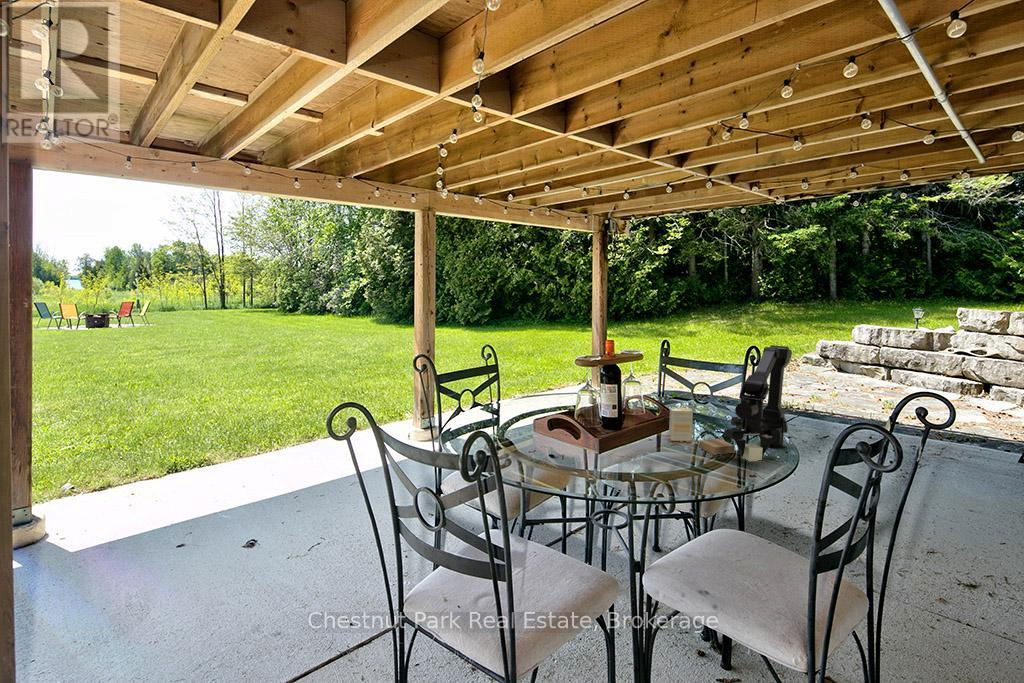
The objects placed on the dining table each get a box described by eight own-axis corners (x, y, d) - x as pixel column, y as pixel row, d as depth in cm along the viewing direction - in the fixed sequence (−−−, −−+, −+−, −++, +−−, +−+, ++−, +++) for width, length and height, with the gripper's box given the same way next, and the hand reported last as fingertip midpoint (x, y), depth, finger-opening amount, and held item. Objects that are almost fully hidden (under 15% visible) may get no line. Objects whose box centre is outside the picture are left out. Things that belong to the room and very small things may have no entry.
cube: (753, 456, 189) (754, 443, 188) (761, 461, 184) (762, 447, 183) (740, 457, 188) (741, 443, 188) (748, 461, 183) (749, 448, 183)
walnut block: (718, 447, 200) (718, 438, 200) (734, 454, 192) (734, 445, 192) (698, 449, 198) (699, 440, 198) (714, 456, 189) (714, 447, 189)
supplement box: (688, 439, 210) (690, 407, 208) (691, 442, 205) (693, 410, 203) (668, 438, 210) (669, 407, 209) (670, 441, 206) (672, 410, 204)
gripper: (764, 408, 193) (761, 448, 195) (717, 409, 191) (715, 449, 193) (783, 415, 182) (780, 457, 184) (734, 416, 180) (732, 459, 182)
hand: (751, 456), depth 186 cm, fingers open, 7 cm apart
